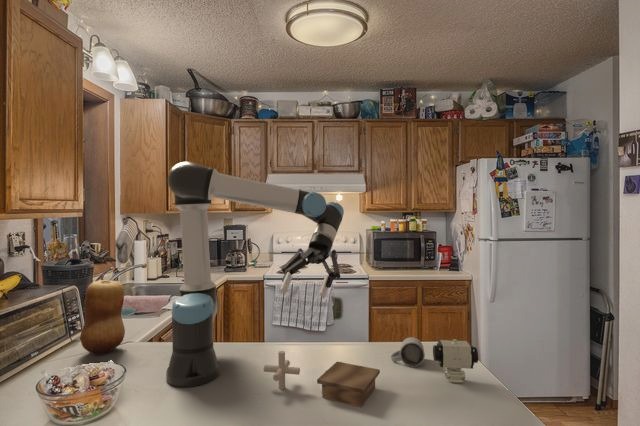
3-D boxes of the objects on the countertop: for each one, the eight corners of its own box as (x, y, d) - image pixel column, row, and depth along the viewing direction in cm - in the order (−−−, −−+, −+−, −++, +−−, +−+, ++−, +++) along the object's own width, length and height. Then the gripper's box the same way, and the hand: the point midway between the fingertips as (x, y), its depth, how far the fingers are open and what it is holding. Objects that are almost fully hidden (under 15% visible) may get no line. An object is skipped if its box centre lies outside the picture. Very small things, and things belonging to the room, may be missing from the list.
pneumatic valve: (432, 376, 112) (432, 335, 112) (473, 378, 110) (473, 337, 110) (436, 384, 106) (436, 342, 106) (479, 387, 105) (479, 344, 105)
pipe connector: (294, 398, 99) (294, 360, 99) (258, 394, 101) (258, 357, 101) (303, 381, 109) (303, 346, 109) (270, 378, 111) (270, 344, 111)
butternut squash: (123, 356, 127) (122, 283, 127) (76, 363, 122) (75, 286, 122) (126, 343, 140) (126, 276, 140) (84, 348, 135) (84, 279, 135)
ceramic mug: (423, 358, 125) (423, 335, 125) (424, 368, 117) (424, 343, 117) (391, 356, 128) (390, 333, 128) (390, 365, 120) (389, 341, 120)
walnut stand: (317, 398, 99) (317, 379, 99) (336, 378, 111) (336, 361, 111) (364, 409, 93) (364, 389, 93) (379, 387, 105) (379, 369, 105)
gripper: (360, 248, 124) (343, 304, 111) (294, 246, 136) (272, 296, 122) (354, 233, 120) (335, 290, 106) (286, 232, 131) (262, 283, 117)
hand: (301, 293), depth 114 cm, fingers open, 13 cm apart
